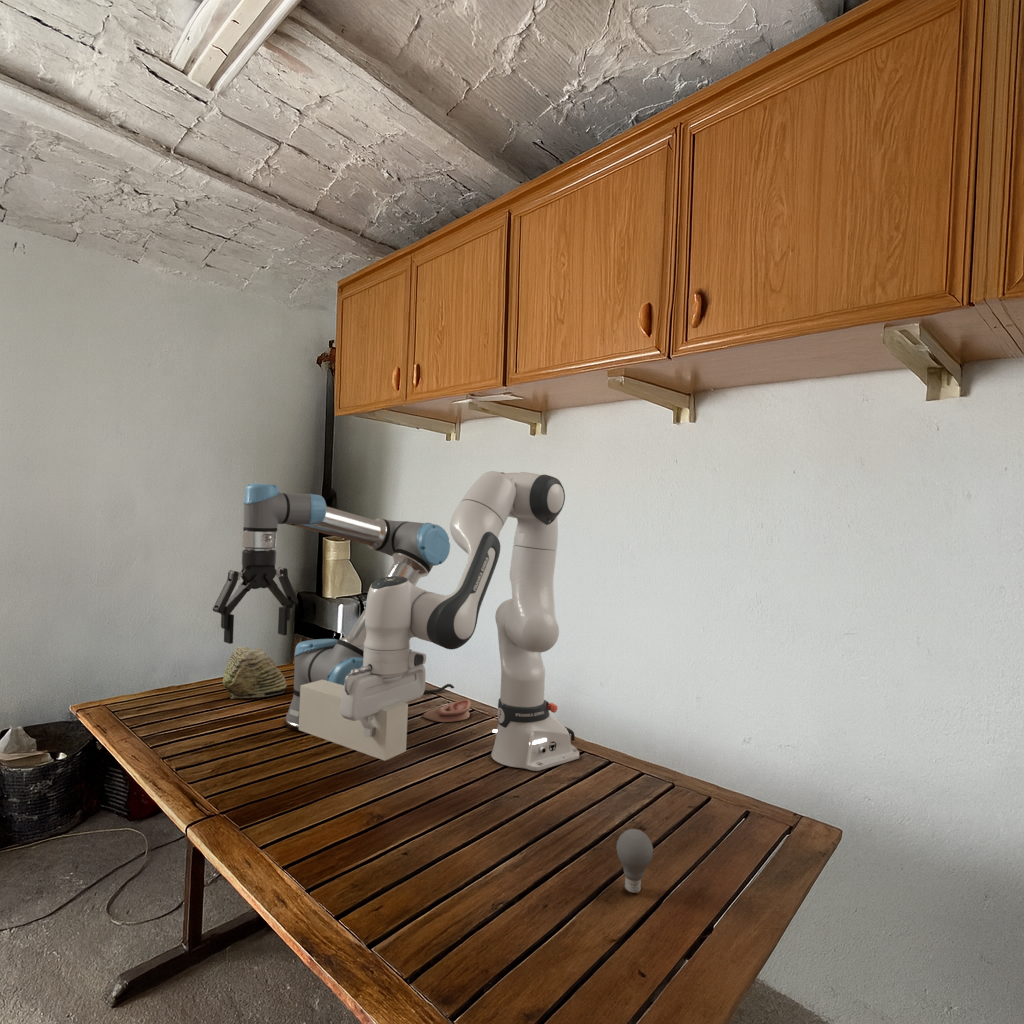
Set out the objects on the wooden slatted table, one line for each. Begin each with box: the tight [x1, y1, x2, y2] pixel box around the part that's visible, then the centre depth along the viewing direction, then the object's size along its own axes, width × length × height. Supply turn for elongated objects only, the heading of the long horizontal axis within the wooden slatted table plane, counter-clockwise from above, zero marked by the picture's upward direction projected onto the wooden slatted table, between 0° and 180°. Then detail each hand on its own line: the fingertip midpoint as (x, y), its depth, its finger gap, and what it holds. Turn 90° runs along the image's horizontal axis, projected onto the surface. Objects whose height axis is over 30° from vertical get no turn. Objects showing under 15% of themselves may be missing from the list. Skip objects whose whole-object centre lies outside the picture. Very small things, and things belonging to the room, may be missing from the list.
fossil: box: [222, 646, 288, 699], centre depth 198 cm, size 9×18×15 cm, turn 132°
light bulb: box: [615, 828, 654, 894], centre depth 106 cm, size 6×6×10 cm
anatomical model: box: [422, 699, 472, 723], centre depth 186 cm, size 13×4×12 cm
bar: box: [299, 680, 409, 762], centre depth 129 cm, size 25×6×9 cm, turn 57°
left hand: (256, 638), depth 150 cm, fingers open, 13 cm apart
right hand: (383, 730), depth 124 cm, fingers closed on bar, 6 cm apart
